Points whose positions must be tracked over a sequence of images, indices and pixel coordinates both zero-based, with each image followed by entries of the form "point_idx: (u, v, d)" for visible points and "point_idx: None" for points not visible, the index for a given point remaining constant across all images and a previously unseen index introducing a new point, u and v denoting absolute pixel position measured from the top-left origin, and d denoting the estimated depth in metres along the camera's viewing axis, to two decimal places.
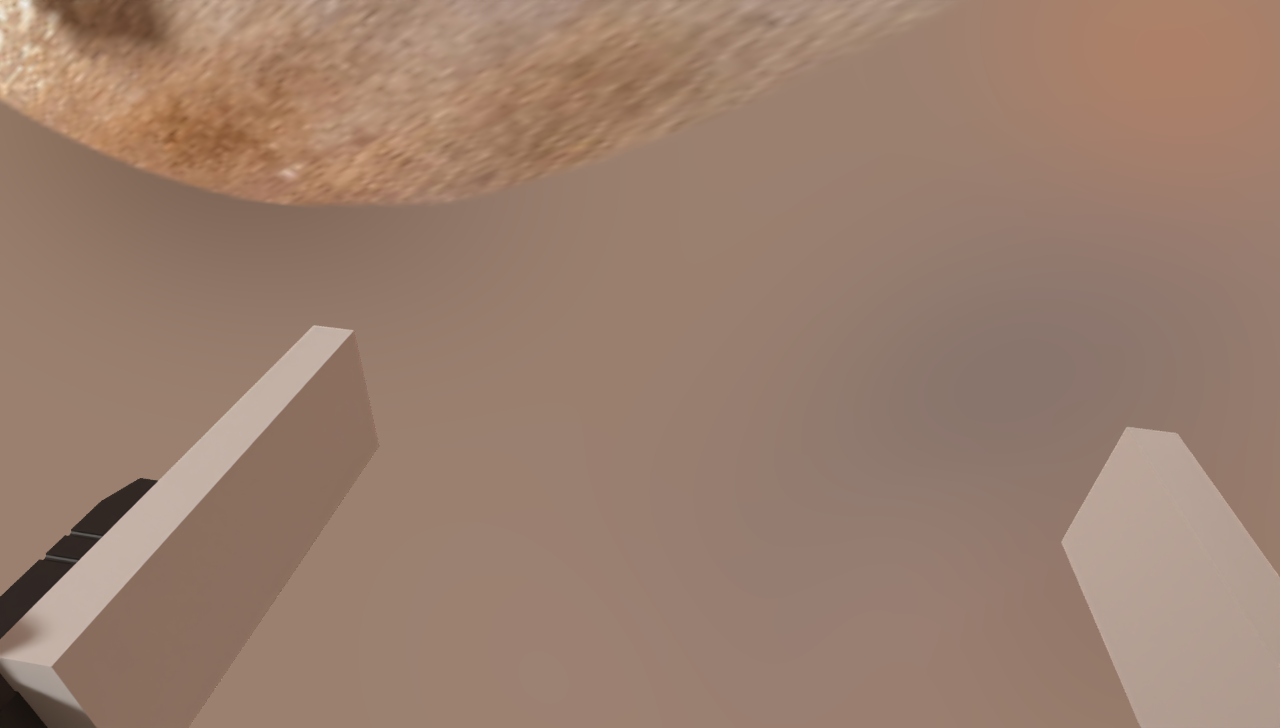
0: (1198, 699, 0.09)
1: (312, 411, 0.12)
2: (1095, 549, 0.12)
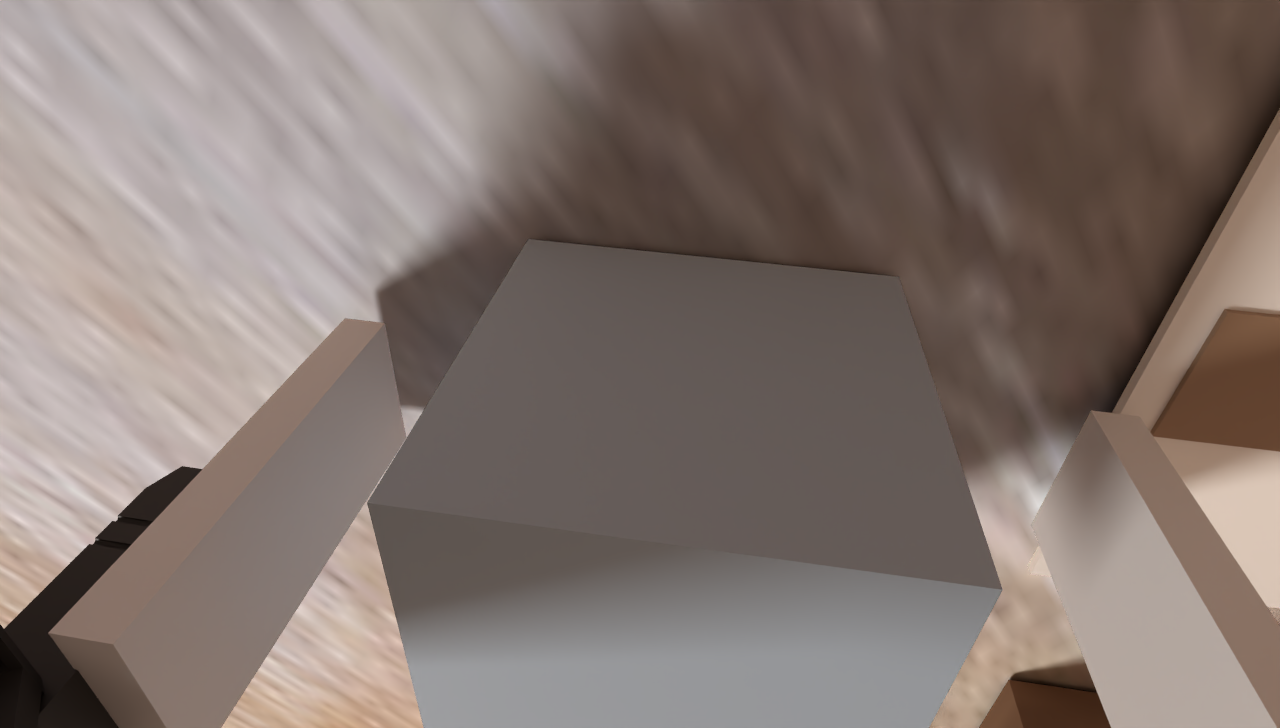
0: (1152, 669, 0.09)
1: (346, 402, 0.12)
2: (1061, 530, 0.12)
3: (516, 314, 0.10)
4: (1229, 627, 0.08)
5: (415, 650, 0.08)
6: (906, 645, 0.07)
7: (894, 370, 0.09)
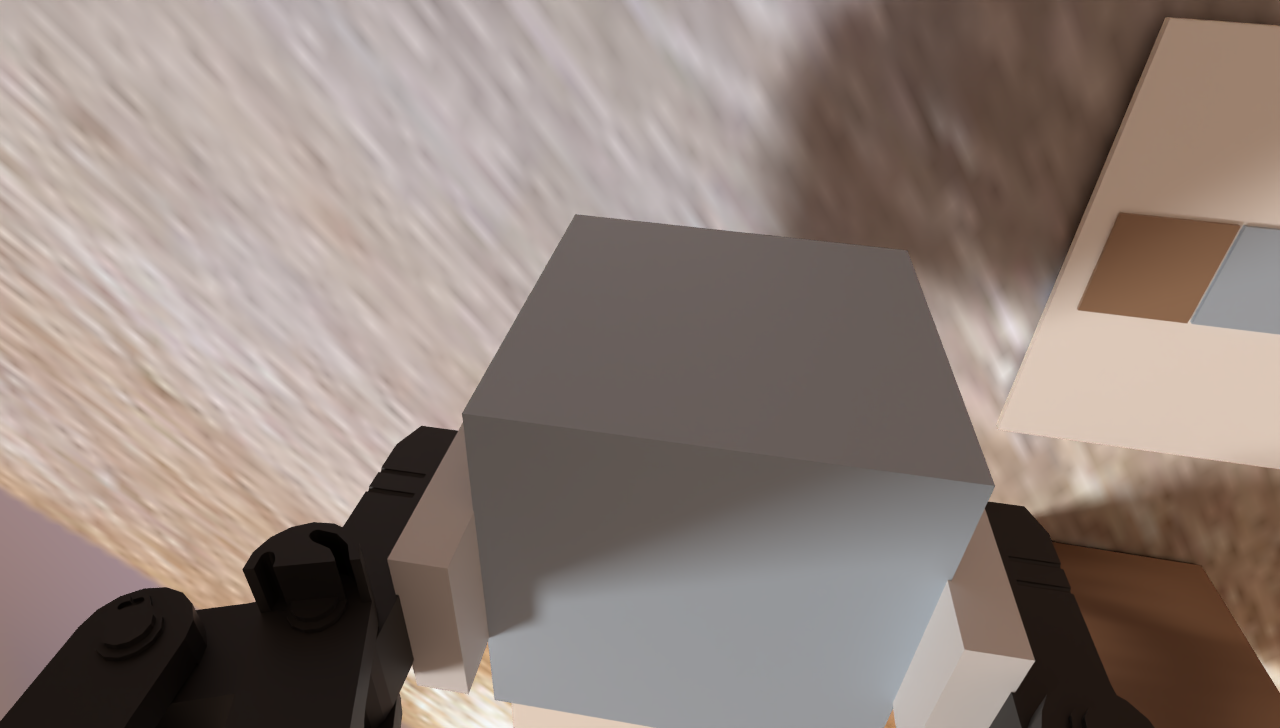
0: None
1: None
2: None
3: (571, 274, 0.11)
4: None
5: (488, 555, 0.10)
6: (914, 541, 0.08)
7: (904, 323, 0.11)
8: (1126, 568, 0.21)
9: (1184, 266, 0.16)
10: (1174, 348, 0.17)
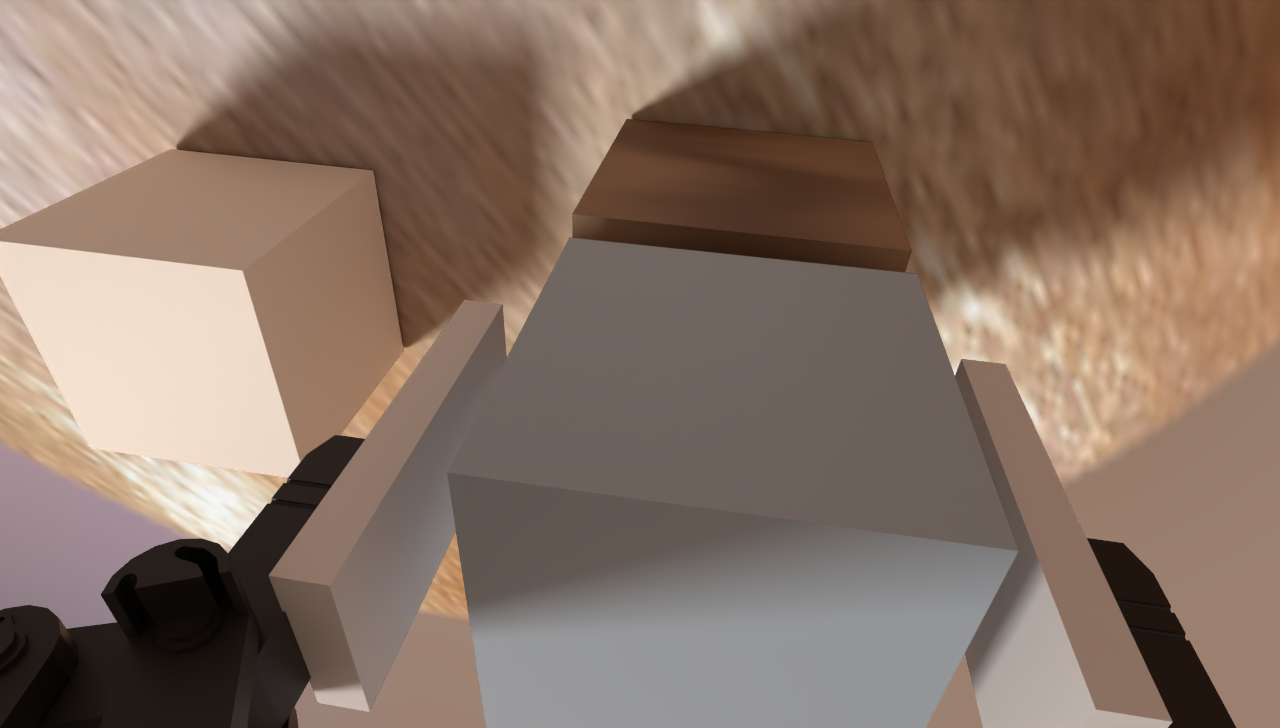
0: None
1: (475, 377, 0.13)
2: None
3: (564, 306, 0.11)
4: (1037, 533, 0.09)
5: (478, 611, 0.09)
6: (930, 604, 0.08)
7: (916, 359, 0.10)
8: (777, 141, 0.17)
9: None
10: None
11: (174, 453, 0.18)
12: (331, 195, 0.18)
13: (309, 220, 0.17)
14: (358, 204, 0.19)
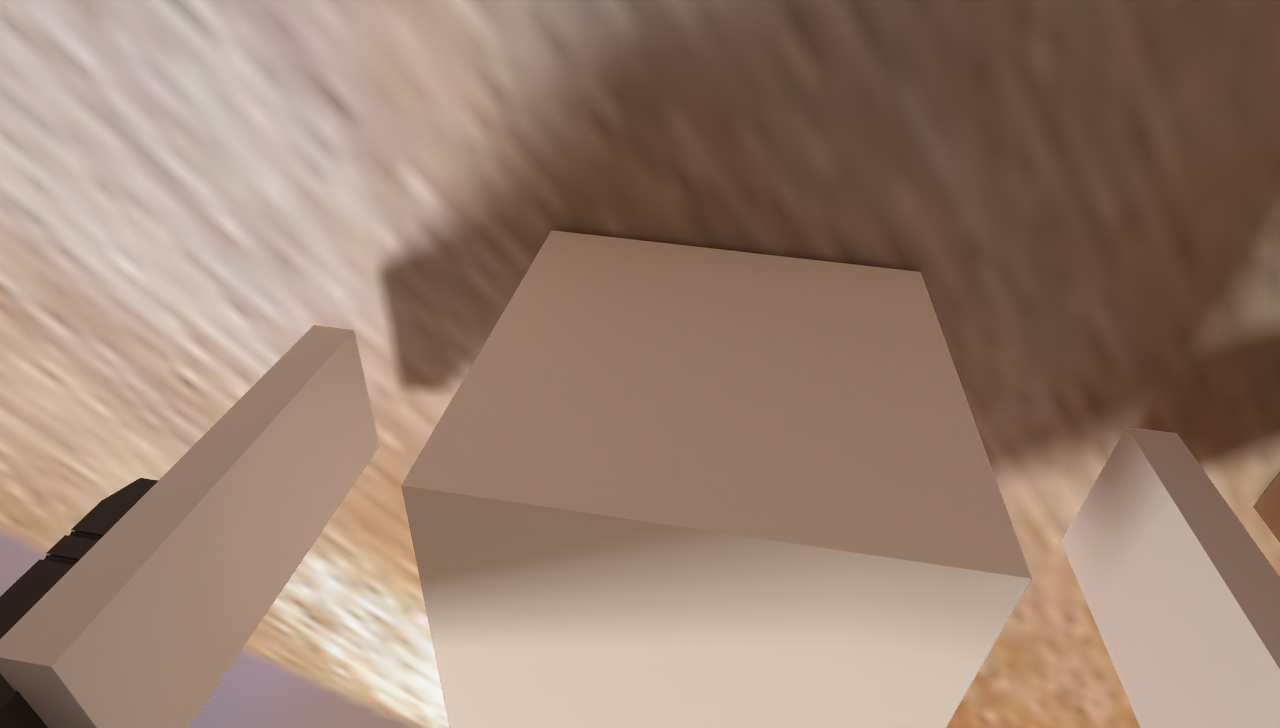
0: (1198, 699, 0.09)
1: (312, 411, 0.12)
2: (1095, 549, 0.12)
3: None
4: None
5: None
6: None
7: None
8: None
9: None
10: None
11: None
12: (926, 334, 0.10)
13: (967, 403, 0.09)
14: None
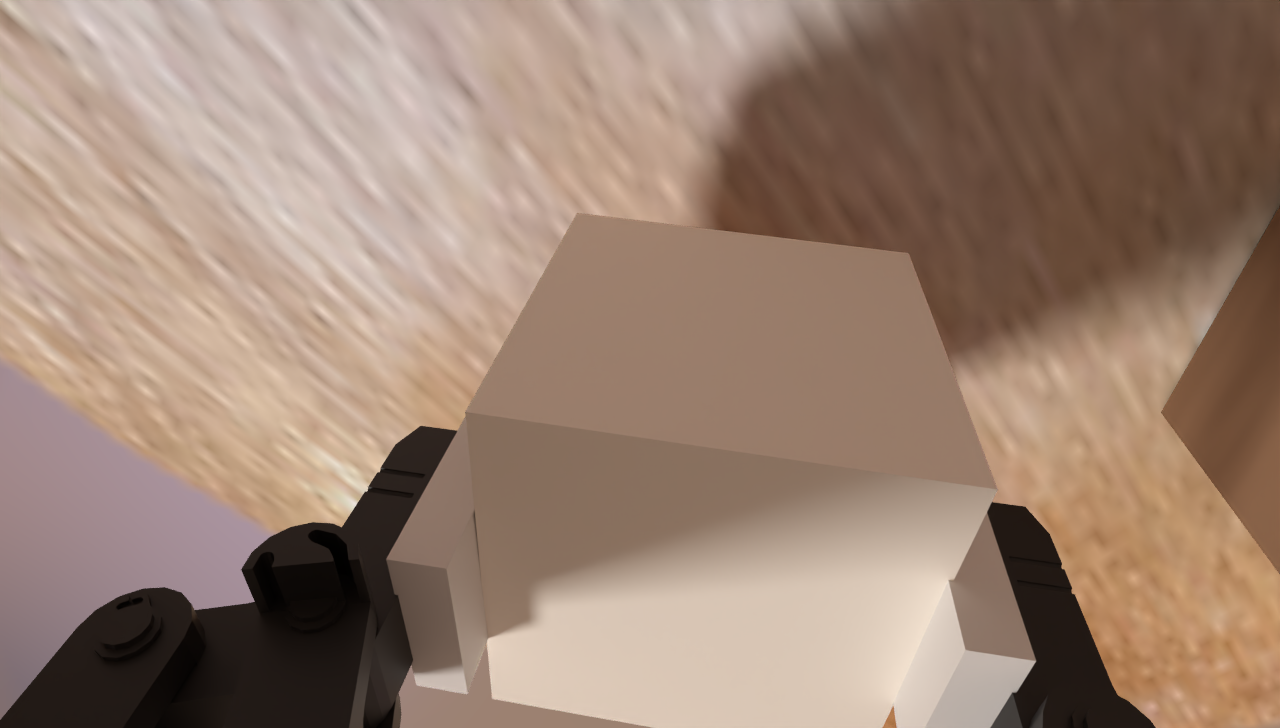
0: None
1: None
2: None
3: None
4: None
5: None
6: None
7: None
8: None
9: None
10: None
11: (644, 716, 0.11)
12: (913, 303, 0.11)
13: (947, 358, 0.10)
14: None
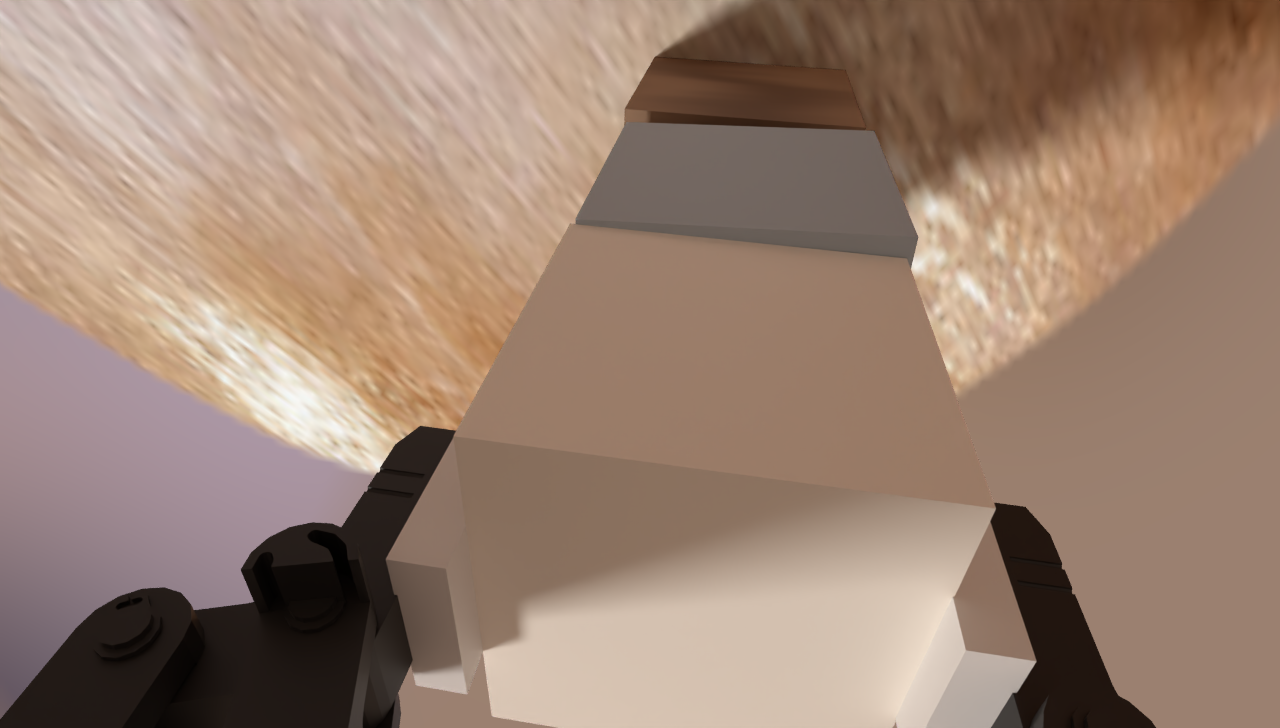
0: None
1: None
2: None
3: (630, 153, 0.16)
4: None
5: None
6: None
7: (867, 168, 0.15)
8: (771, 68, 0.22)
9: None
10: None
11: None
12: (910, 311, 0.11)
13: (945, 369, 0.10)
14: None
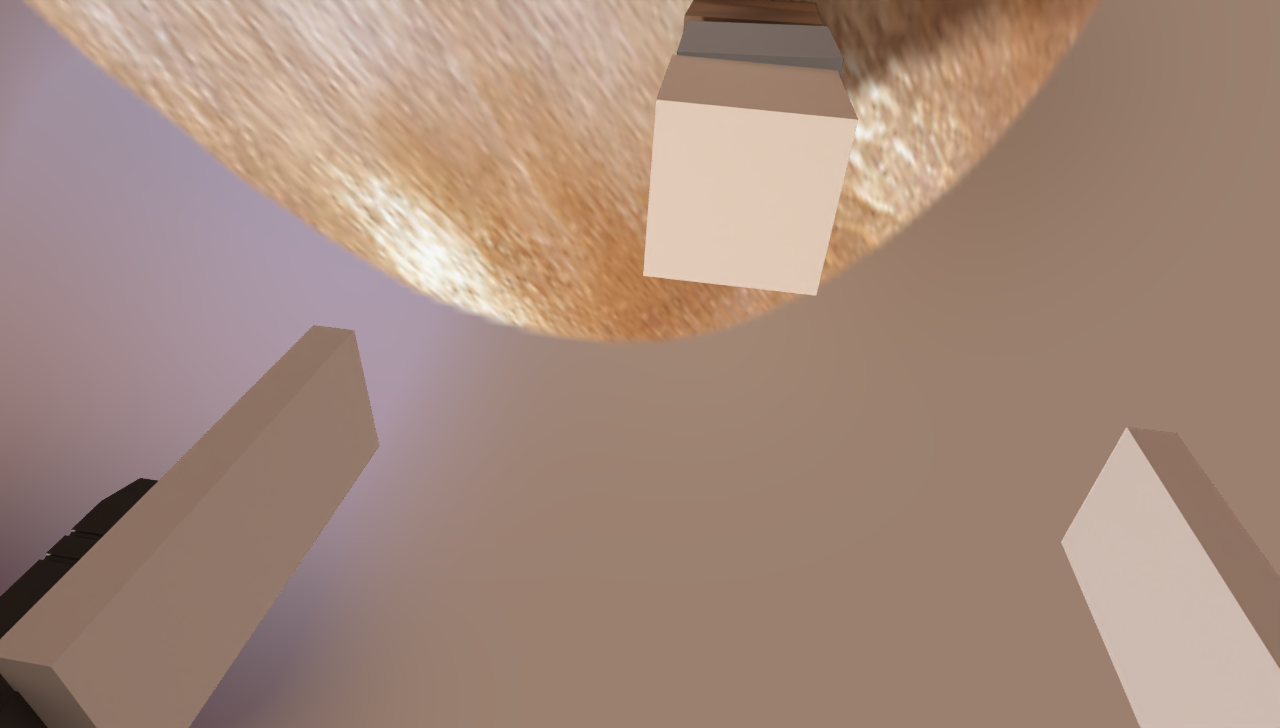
0: (1198, 699, 0.09)
1: (312, 411, 0.12)
2: (1095, 549, 0.12)
3: (695, 31, 0.29)
4: None
5: None
6: None
7: (822, 38, 0.29)
8: (769, 2, 0.36)
9: None
10: None
11: (715, 276, 0.25)
12: (836, 83, 0.25)
13: (847, 96, 0.23)
14: None
